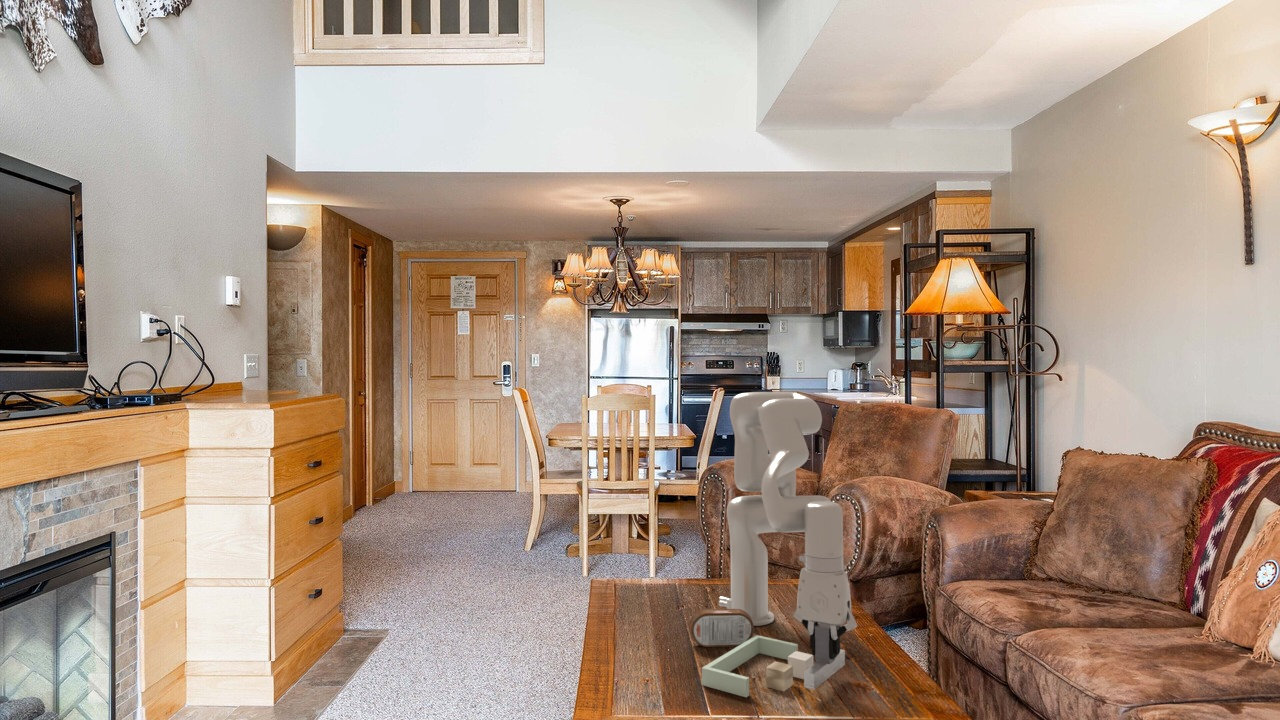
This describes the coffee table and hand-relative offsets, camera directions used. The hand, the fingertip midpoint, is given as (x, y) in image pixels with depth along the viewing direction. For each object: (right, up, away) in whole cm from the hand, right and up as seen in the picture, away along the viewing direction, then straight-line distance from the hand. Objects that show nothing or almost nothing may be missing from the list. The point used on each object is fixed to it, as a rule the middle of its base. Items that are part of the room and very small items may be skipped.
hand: (825, 654), depth 155 cm
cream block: (-3, -7, +8) cm, 11 cm away
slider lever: (0, -4, 0) cm, 4 cm away
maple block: (-9, -7, +2) cm, 12 cm away
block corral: (-13, -7, +8) cm, 17 cm away
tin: (-18, -8, +25) cm, 31 cm away
